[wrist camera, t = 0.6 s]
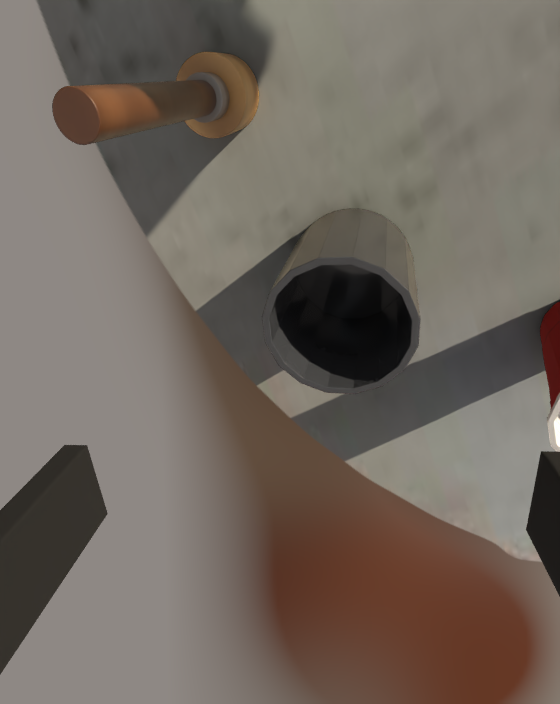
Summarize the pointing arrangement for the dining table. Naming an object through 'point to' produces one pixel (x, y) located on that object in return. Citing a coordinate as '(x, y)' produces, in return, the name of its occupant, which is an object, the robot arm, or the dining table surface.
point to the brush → (163, 102)
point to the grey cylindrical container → (345, 304)
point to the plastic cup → (552, 369)
